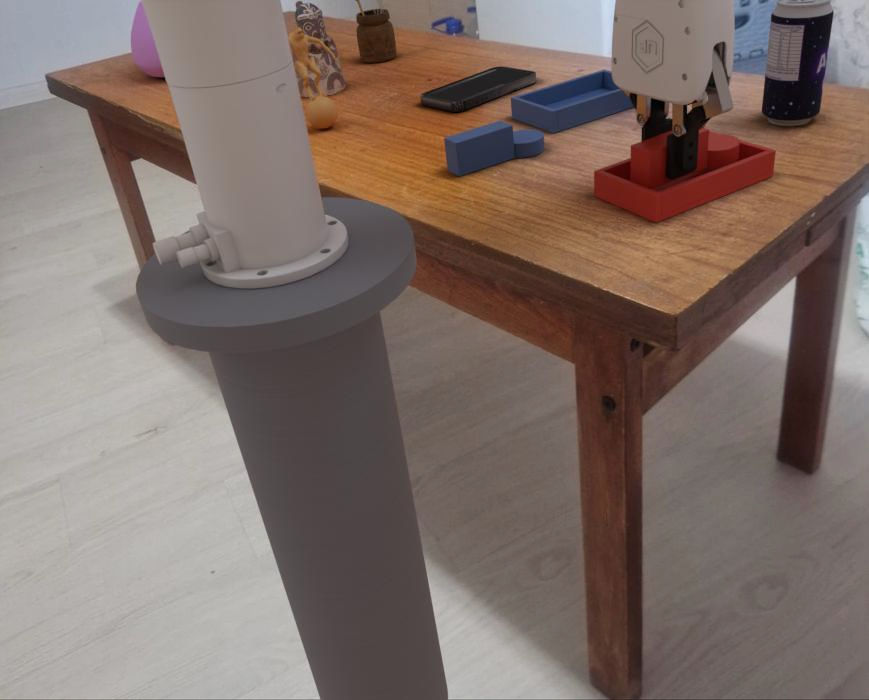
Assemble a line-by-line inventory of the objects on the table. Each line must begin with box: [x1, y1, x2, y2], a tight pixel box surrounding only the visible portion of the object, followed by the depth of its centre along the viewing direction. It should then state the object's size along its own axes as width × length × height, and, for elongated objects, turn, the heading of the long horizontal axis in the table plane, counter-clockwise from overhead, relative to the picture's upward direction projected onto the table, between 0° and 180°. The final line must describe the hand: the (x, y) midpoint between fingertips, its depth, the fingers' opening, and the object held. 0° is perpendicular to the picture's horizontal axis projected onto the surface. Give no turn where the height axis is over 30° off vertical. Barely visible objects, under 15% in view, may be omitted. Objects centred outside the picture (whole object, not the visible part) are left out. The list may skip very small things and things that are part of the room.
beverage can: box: [761, 0, 835, 127], centre depth 84 cm, size 6×6×12 cm
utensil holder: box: [355, 0, 397, 64], centre depth 128 cm, size 6×6×12 cm
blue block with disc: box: [443, 120, 545, 178], centre depth 86 cm, size 11×4×4 cm, turn 120°
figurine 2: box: [288, 27, 339, 130], centre depth 101 cm, size 8×6×12 cm
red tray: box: [593, 130, 777, 223], centre depth 75 cm, size 14×8×2 cm, turn 120°
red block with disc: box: [630, 127, 740, 189], centre depth 74 cm, size 11×4×4 cm, turn 120°
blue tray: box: [510, 69, 635, 134], centre depth 97 cm, size 14×8×2 cm, turn 120°
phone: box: [419, 65, 537, 113], centre depth 108 cm, size 8×1×15 cm
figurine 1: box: [291, 0, 346, 98], centre depth 116 cm, size 7×7×12 cm
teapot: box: [130, 0, 165, 78], centre depth 138 cm, size 22×22×14 cm
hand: (668, 168), depth 74 cm, fingers closed on red block with disc, 2 cm apart
